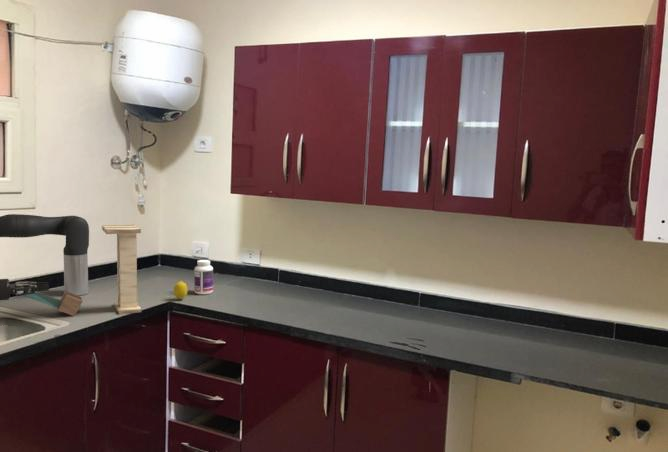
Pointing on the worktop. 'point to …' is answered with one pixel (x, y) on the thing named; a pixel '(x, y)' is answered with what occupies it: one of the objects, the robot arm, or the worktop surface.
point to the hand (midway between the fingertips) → (48, 286)
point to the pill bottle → (203, 277)
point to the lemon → (180, 290)
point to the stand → (126, 266)
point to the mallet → (60, 301)
